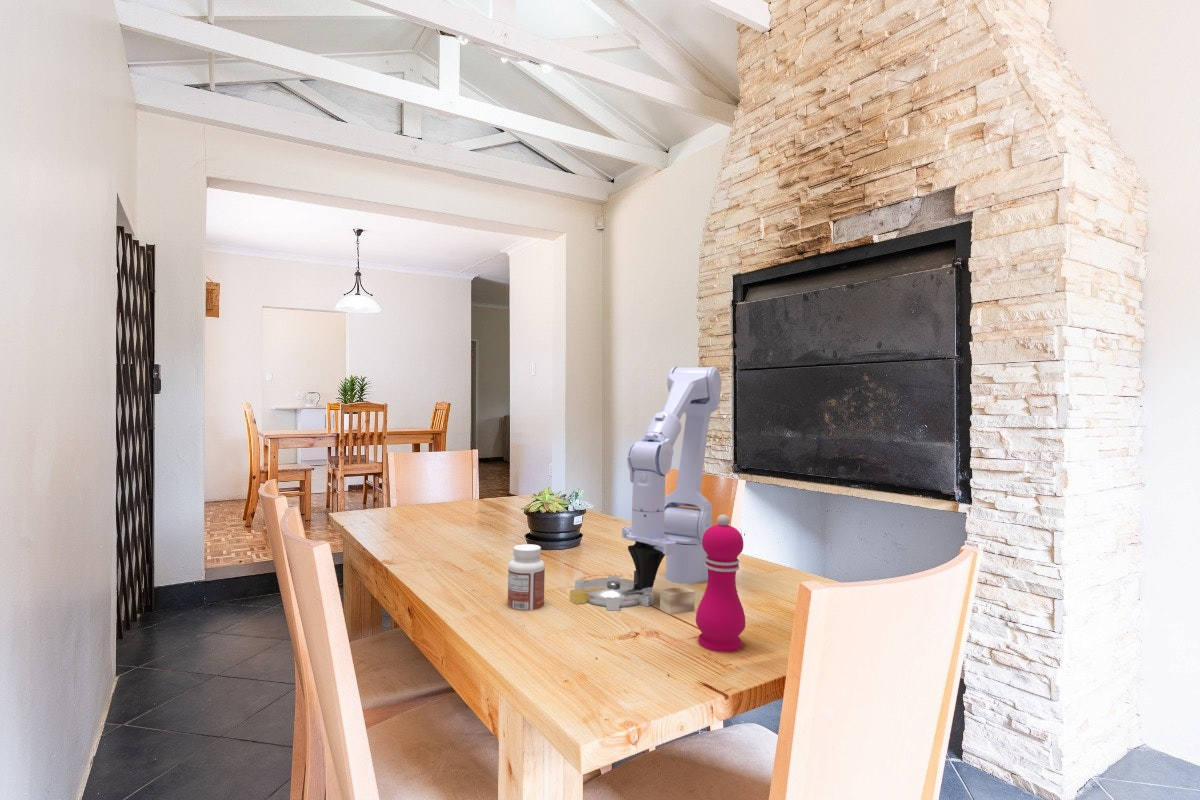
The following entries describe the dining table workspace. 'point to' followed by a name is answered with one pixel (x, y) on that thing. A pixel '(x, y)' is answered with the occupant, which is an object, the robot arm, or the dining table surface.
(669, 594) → the banded wooden block
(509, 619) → the dining table surface
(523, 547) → the pill bottle
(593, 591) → the sprocket
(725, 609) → the pepper mill
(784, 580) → the dining table surface
